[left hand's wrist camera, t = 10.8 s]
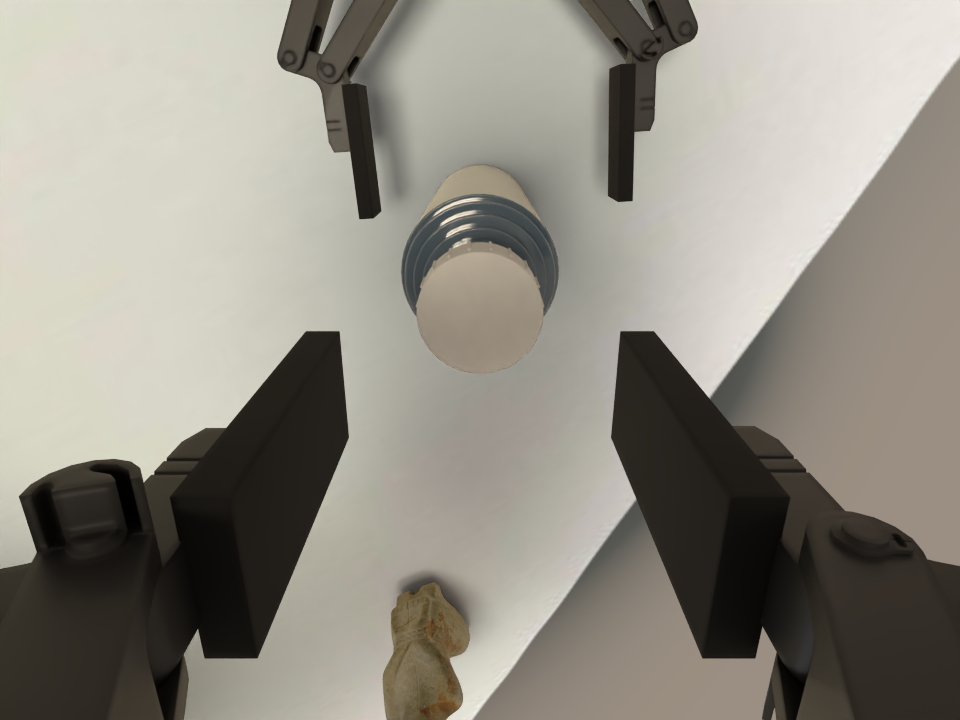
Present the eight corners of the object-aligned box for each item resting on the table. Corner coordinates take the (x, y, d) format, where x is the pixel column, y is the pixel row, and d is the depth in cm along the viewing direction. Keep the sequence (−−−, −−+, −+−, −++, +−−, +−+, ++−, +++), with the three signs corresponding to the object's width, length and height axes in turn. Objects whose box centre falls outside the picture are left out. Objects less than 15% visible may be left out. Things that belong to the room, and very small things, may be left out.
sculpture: (418, 648, 53) (396, 837, 39) (382, 587, 51) (345, 765, 37) (480, 628, 52) (480, 813, 38) (446, 565, 50) (433, 738, 36)
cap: (483, 213, 20) (484, 221, 18) (565, 303, 21) (572, 318, 20) (394, 297, 21) (388, 311, 19) (477, 379, 22) (476, 398, 21)
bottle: (482, 142, 38) (486, 167, 18) (548, 218, 40) (617, 316, 20) (411, 212, 40) (341, 306, 20) (477, 282, 41) (474, 433, 21)
